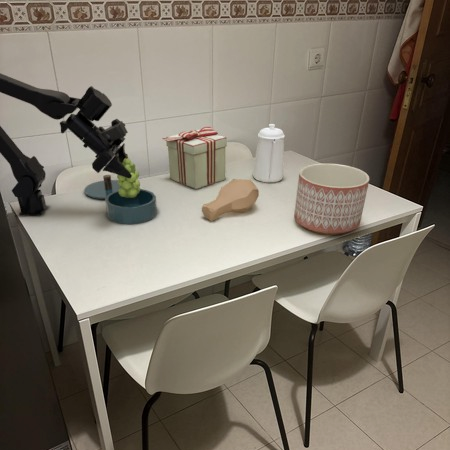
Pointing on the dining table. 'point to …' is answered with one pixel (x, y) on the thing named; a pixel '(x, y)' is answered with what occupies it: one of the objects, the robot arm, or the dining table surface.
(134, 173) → the grapes
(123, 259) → the dining table surface
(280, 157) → the coffeepot
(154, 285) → the dining table surface
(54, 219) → the dining table surface
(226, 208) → the squash
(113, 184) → the lid
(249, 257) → the dining table surface
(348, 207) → the planter
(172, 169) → the gift box
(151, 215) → the teal round bowl
